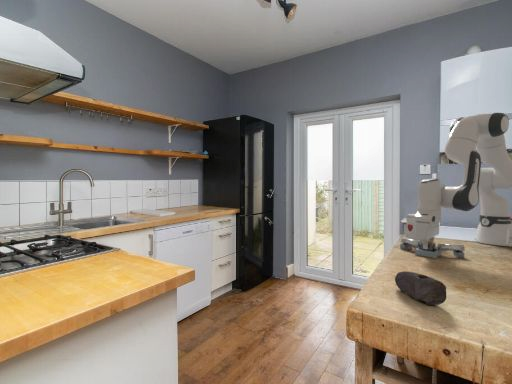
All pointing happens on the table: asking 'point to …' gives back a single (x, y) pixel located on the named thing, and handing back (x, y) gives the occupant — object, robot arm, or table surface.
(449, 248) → the shaft
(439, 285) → the perforated stone tool
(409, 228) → the supplement box
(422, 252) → the housing
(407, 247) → the shaft
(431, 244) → the block
